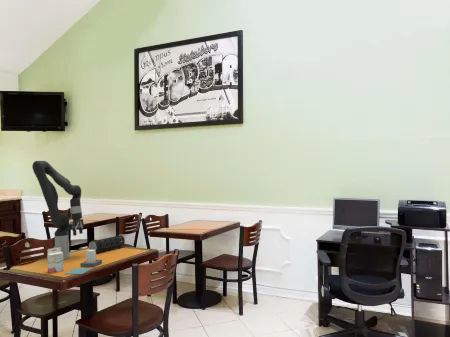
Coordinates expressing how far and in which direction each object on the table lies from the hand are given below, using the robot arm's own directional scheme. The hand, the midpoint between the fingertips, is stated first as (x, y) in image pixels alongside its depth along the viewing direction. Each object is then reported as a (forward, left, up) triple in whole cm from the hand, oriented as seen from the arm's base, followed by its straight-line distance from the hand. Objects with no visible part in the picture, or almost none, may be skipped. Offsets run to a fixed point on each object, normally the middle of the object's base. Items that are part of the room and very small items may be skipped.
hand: (78, 234), depth 268 cm
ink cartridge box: (+4, -33, -18) cm, 37 cm away
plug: (+20, -18, -18) cm, 32 cm away
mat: (+20, -33, -18) cm, 42 cm away
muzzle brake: (+8, +26, -18) cm, 33 cm away
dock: (+20, -18, -18) cm, 32 cm away
